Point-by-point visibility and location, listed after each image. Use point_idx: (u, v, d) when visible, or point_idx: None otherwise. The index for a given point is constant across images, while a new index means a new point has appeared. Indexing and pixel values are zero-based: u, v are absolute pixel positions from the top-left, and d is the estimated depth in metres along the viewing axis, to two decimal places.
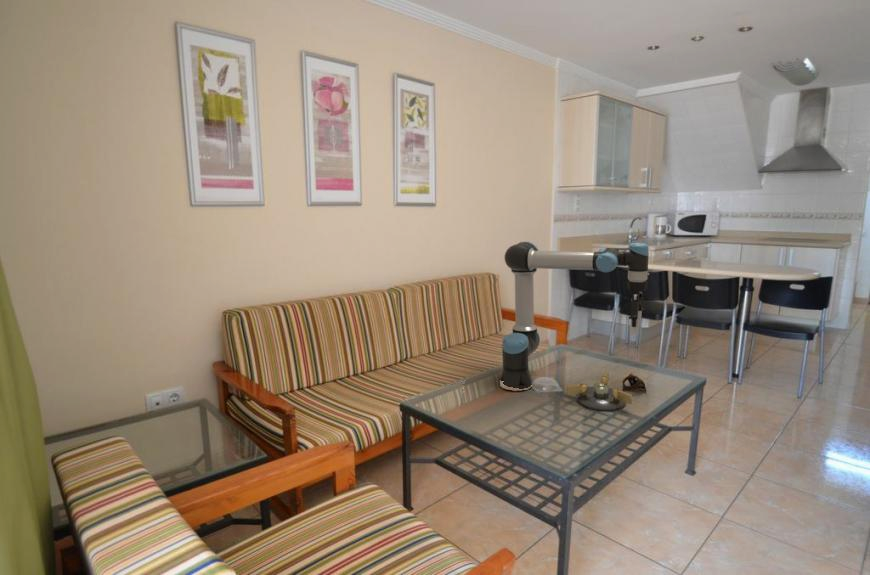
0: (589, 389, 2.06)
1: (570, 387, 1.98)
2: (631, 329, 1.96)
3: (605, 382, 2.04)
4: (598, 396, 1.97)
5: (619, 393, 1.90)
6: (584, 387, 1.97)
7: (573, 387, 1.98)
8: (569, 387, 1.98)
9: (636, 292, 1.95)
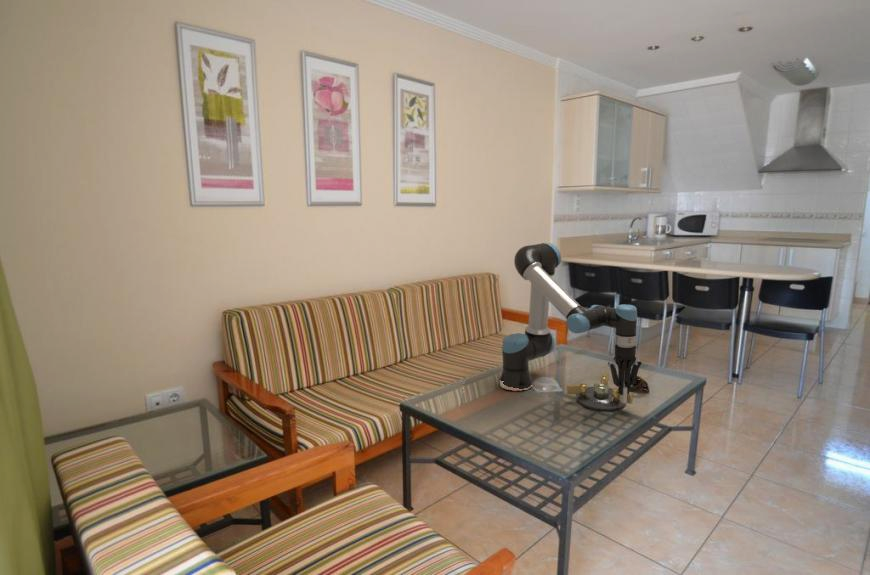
0: (589, 389, 2.06)
1: (570, 387, 1.98)
2: (620, 396, 1.88)
3: (605, 382, 2.04)
4: (598, 396, 1.97)
5: None
6: (584, 387, 1.97)
7: (573, 387, 1.98)
8: (569, 387, 1.98)
9: (615, 356, 1.83)
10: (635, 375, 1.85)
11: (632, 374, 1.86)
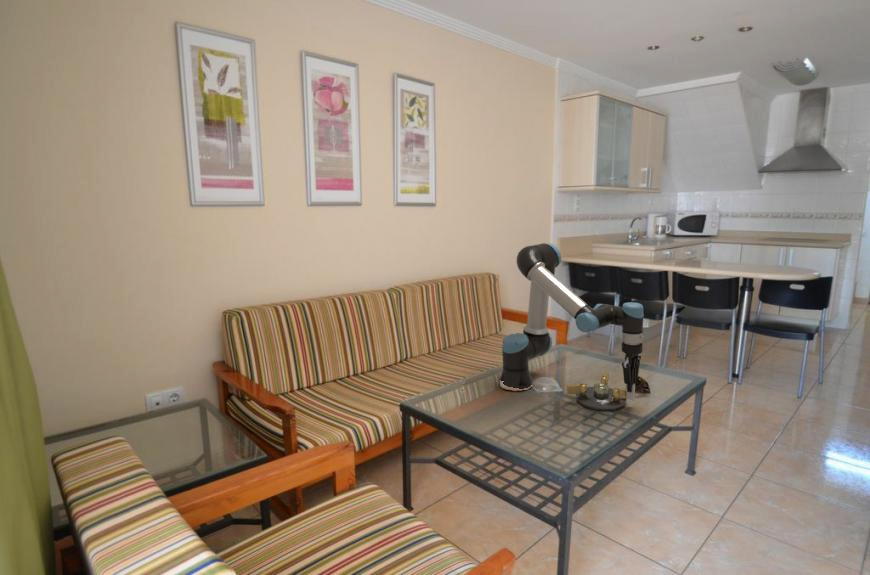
0: (589, 389, 2.06)
1: (570, 387, 1.98)
2: (628, 394, 1.90)
3: (605, 382, 2.04)
4: (598, 396, 1.97)
5: (622, 391, 1.91)
6: (584, 387, 1.97)
7: (573, 387, 1.98)
8: (569, 387, 1.98)
9: (628, 355, 1.84)
10: (638, 369, 1.90)
11: None
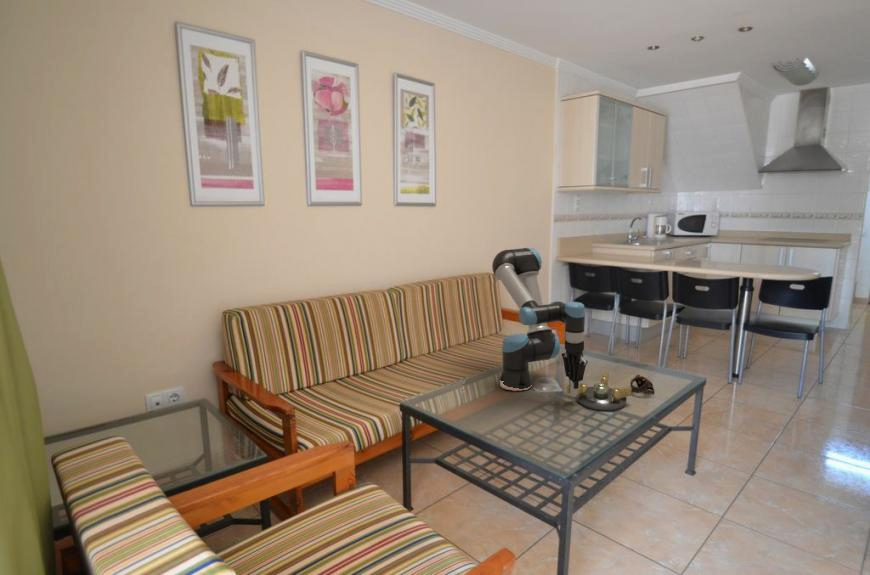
0: (589, 389, 2.06)
1: None
2: (573, 391, 1.96)
3: (605, 382, 2.04)
4: (598, 396, 1.97)
5: (622, 391, 1.92)
6: (584, 387, 1.97)
7: None
8: (569, 387, 1.98)
9: (581, 353, 1.90)
10: None
11: (568, 366, 1.98)
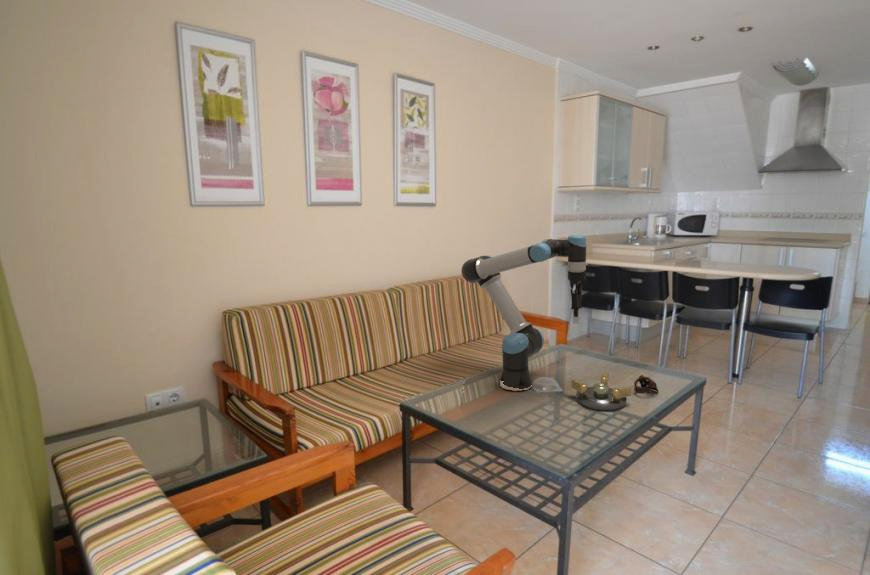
0: (589, 389, 2.06)
1: (573, 381, 2.03)
2: (574, 319, 2.10)
3: (605, 382, 2.04)
4: (598, 396, 1.97)
5: (622, 391, 1.92)
6: (580, 386, 1.98)
7: (575, 382, 2.02)
8: (572, 381, 2.04)
9: (575, 282, 2.03)
10: (581, 296, 2.11)
11: None
